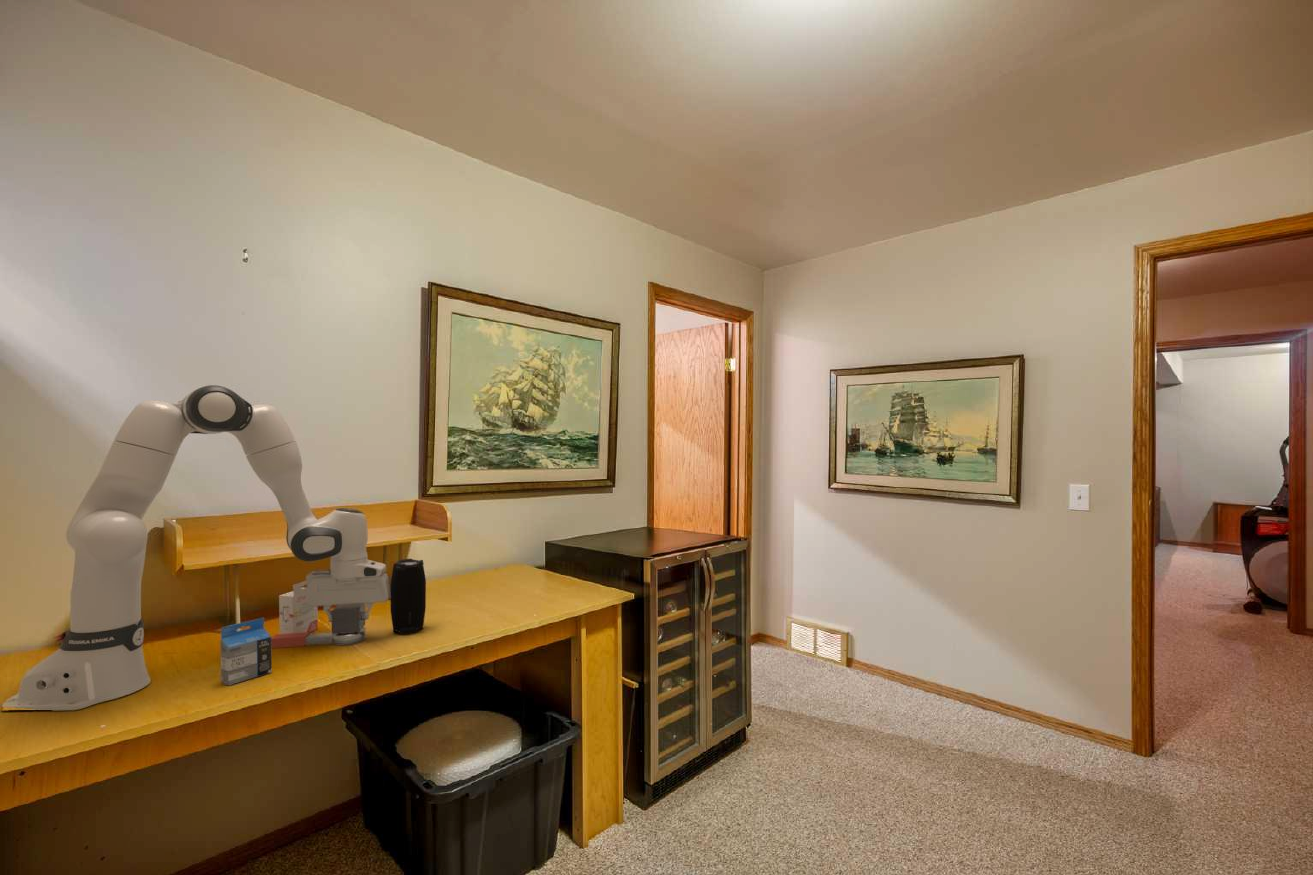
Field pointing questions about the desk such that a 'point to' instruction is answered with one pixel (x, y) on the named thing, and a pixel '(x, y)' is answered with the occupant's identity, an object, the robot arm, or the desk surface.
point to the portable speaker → (408, 596)
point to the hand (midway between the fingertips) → (348, 620)
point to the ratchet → (317, 639)
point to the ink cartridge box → (297, 612)
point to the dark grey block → (347, 618)
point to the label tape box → (245, 652)
